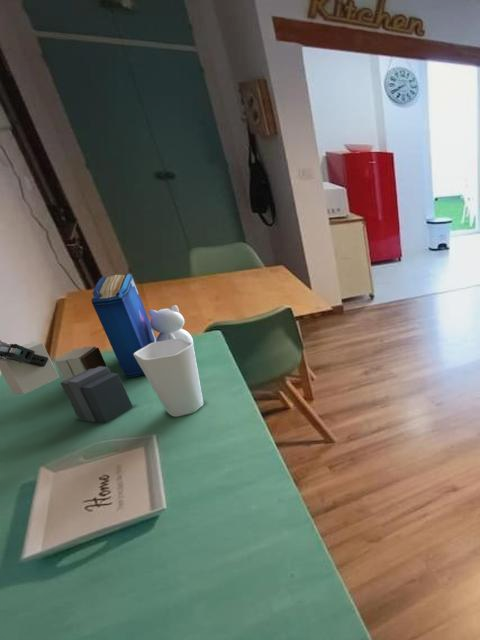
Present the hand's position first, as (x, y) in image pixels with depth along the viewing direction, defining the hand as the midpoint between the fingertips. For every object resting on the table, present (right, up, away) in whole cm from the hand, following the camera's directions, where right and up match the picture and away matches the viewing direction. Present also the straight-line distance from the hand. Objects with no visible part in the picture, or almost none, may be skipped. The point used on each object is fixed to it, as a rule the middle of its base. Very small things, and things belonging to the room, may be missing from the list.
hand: (38, 361), depth 90 cm
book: (-9, -3, +35) cm, 36 cm away
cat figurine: (-2, 0, +41) cm, 41 cm away
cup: (+20, -13, +16) cm, 28 cm away
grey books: (+2, -13, +13) cm, 19 cm away
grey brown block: (-14, -7, +25) cm, 30 cm away
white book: (0, -5, 0) cm, 5 cm away
